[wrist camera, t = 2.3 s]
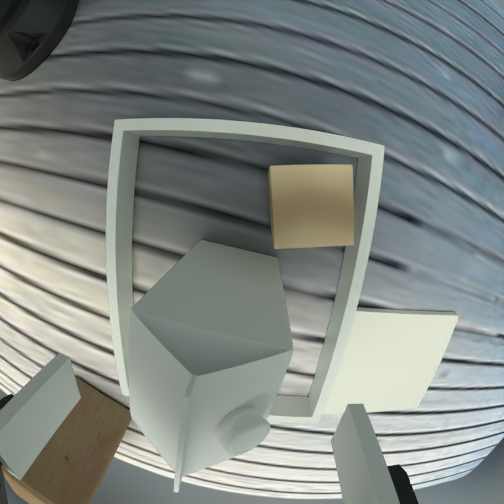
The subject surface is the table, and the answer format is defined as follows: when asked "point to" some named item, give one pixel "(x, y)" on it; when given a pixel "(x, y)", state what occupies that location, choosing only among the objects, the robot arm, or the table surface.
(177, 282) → the milk carton
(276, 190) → the oak block
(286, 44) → the table surface
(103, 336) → the table surface
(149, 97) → the table surface
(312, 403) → the rectangular frame
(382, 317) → the tile
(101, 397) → the wooden block
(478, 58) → the table surface
